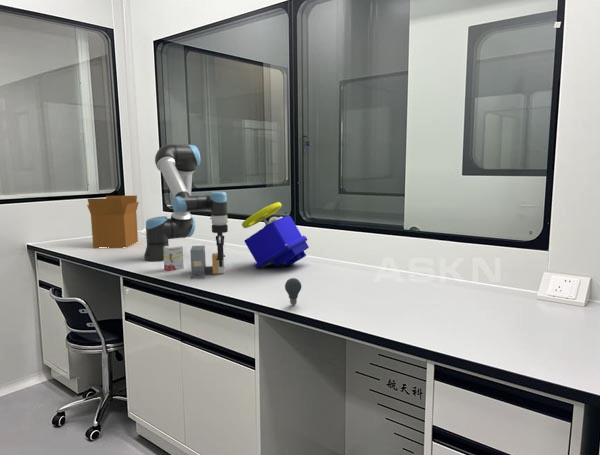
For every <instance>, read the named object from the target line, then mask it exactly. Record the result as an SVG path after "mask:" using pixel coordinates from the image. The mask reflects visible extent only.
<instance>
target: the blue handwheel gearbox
mask: <svg viewBox="0 0 600 455" xmlns="http://www.w3.org/2000/svg"><path fill="white" fill-rule="evenodd" d="M282 206H283V205H282V203H281V202H280V201H277V202H275V203H272V204H270V205H268V206H265V207H263V208H262V209H259V210H258V211H257V212H255V213H254V214H252V215H250V216H249V217H247V218H246V219H245V220H244V221H243V222H241V225H242V228H243V229H247V228H250V227H252V226H255V225H257V224H259V223H260V222H262V221H263V223H264V224H265V225H264V226H263V227H262V228H261V229H259V230H258V231H256V232H255V233H253V234H252V235H250V236H249V237H247V238H246V239H244V244H245V245H246V246H247V249H248V251H249V252H250V254H251V255H252V257H253V260H255V263H254V264H253V265H254V268H256V269H257V270H258V269H260V268H262V267H263V266H266V265H268V264H269V263H273V265H274V266H275V267H278V266H280V265H282V264H284V265H285V266H286V267H289V266H291V265H294V263H297V262H298V261H300V260H302V259H303V258H305V257H307V254H306V253H305V251H306V250H307V249H309V245H308V243H307V241H308V238H307V236H305V235H302V234H301V232H300V230H299V228H298V227H297V225H296V223H295V221H294V220H293V218H292V217H291V215H288V216H287V215H286V216H285V217H283V216H280V217H277V216H272V215H274V214H275V213H277V212H278V211H279V210H280V209H281V208H282ZM271 216H272V217H271ZM269 217H270V218H269ZM268 218H269V220H268V221H267V219H268Z"/></svg>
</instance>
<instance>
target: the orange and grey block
mask: <svg viewBox="0 0 600 455" xmlns="http://www.w3.org/2000/svg"><path fill="white" fill-rule="evenodd" d="M216 259H218V252H217V253H215V252H214V253H212V255H211V260H212V261H211V262H212V265H206V266H205V275H206V274H212V275H214V274H215V275H217V274H218V275H219V274H221V275H222V273H218V260H216Z"/></svg>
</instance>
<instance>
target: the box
mask: <svg viewBox="0 0 600 455" xmlns="http://www.w3.org/2000/svg"><path fill="white" fill-rule="evenodd" d="M137 199H138V195H106V196H105V197H104V198H98V197H97V198H87V203H88V204H86V206H87V208H88V211H89V213H90V222H91V236H92V248H93V249H100V248H99V247H107V248H106V249H124V248H123V247H127V248H129V247H131V246H133V245H132V244H134V243H136V242H138V243H139V237H138V236H139V234H138V233H139V232H138V219H137V218H138V217H137V210H138V206H139V204H140V202H139V201H138V200H137ZM136 244H137V243H136ZM130 245H131V246H130ZM134 245H135V244H134ZM128 246H129V247H128ZM108 247H109V248H108Z"/></svg>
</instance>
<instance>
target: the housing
mask: <svg viewBox="0 0 600 455" xmlns="http://www.w3.org/2000/svg"><path fill="white" fill-rule="evenodd" d="M189 252H190V270H191V272H190V273H191V274H190V277H189V278H190V280H194V279H195V280H199V279H202V280H203V279H205V276H206V274H205V266H207V264H206V245H192V246H191V248H190V251H189Z"/></svg>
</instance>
